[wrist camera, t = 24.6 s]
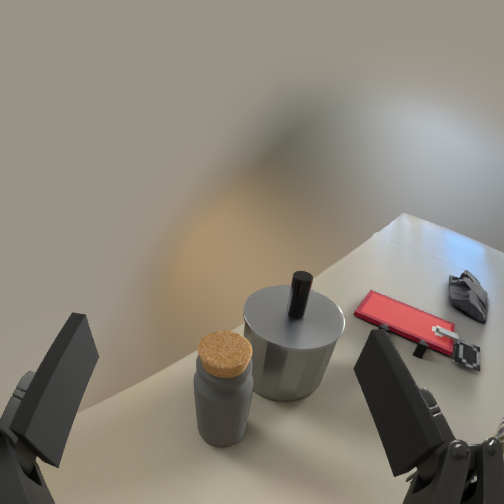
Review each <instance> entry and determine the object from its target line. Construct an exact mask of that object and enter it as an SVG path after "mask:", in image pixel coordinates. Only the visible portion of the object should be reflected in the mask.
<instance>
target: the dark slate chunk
mask: <svg viewBox="0 0 504 504" xmlns="http://www.w3.org/2000/svg"><path fill="white" fill-rule="evenodd" d="M449 293H450V302H451V304H452V305H454V306H456V307H457V308H459V309H461V310H463V311H464V312H466V313H467V314H469V315H470V316H472V317H473V318H474V319H476V320H478V321H480V322H483V323H485V322H486V313H487V293H486V291H485V290H484V289H483V288H482V286H481V285H480V283H479V281H478V280H477V279H476V278H475V277H474V276H473V275H472V274H471V273H470V272H469V271H467V270H465V272H464V273H462V274H461V276H460V278H458V277H454V276H451V275H450V276H449Z"/></svg>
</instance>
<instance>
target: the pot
mask: <svg viewBox="0 0 504 504" xmlns="http://www.w3.org/2000/svg"><path fill="white" fill-rule="evenodd" d="M244 337H245V338H246V339H247V340H248V341H249V343H250V344H251V346H252V356H251V360H252V372H251V374H252V377H253V391H255V392H256V393H258V394H259V395H261V396H263V397H266V398H269V399H272V400H277V401H294V400H298V399H301V398H304V397H306V396H308V395H310V394H311V393H312V392H313V391H314V390H315V389H316V388H317V387H318V386H319V384H320V382H321V380H322V377H323V375H324V372H325V370H326V368H327V365H328V363H329V360H330V357H331V355H332V352H333V350H334V347H335V344H336V342H337V341H336V342H335V343H334V344H332V345H330V346H328V347H326V348H324V349H321V350H316V351H310V352H296V351H289V350H284V349H281V348H277V347H275V346H272V345H270V344H268V343H266V342H264V341H263V340H261V339H260V338H258V337H257V336H256V335H255V334H253V333H252V331H251V330H250V329H249V328H248V326H247V325H246V323H245V328H244Z"/></svg>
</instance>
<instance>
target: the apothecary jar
mask: <svg viewBox="0 0 504 504" xmlns="http://www.w3.org/2000/svg"><path fill="white" fill-rule="evenodd" d="M491 437H495V438H497V439H498V440H499V441H500V443H501V445H502V449H503V459H504V417H503V419H502V420H501V422H500V424H499V427H498V431H497V434H496V435H493V436H491Z"/></svg>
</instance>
